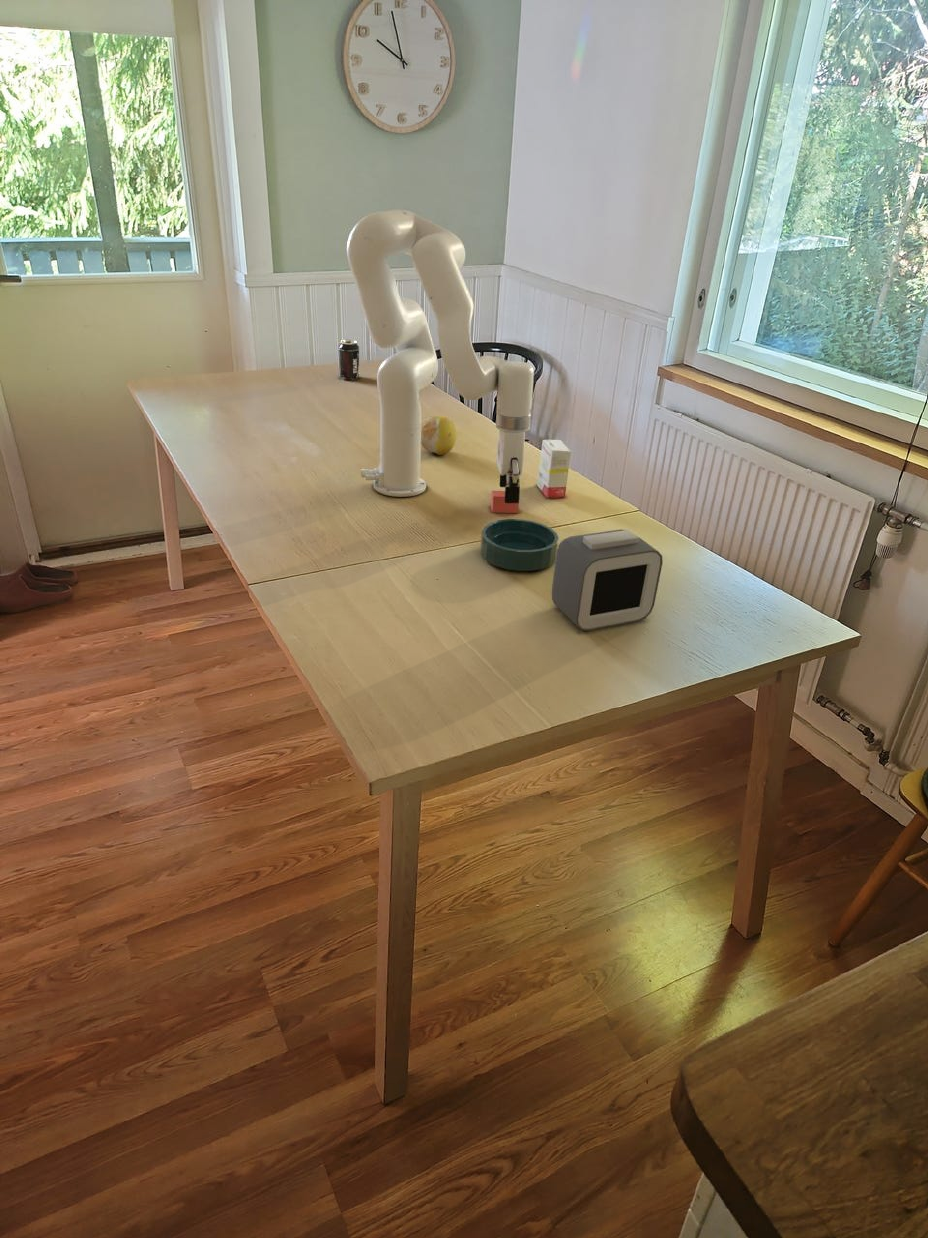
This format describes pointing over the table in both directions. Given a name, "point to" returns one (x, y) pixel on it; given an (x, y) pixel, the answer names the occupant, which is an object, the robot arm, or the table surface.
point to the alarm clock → (605, 579)
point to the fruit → (438, 434)
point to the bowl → (519, 544)
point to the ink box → (553, 468)
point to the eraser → (502, 503)
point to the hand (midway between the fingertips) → (508, 494)
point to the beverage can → (348, 359)
